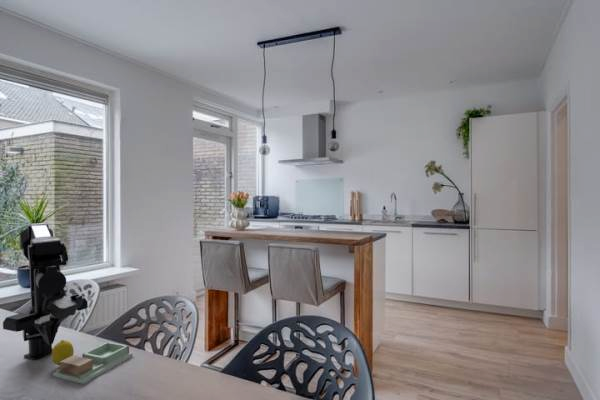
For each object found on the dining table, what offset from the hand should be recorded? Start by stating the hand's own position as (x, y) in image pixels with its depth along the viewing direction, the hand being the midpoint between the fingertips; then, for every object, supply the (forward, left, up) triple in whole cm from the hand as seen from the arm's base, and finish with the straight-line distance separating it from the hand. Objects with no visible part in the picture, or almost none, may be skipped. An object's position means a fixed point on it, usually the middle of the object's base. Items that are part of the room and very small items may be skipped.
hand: (50, 344), depth 95 cm
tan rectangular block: (0, +7, -11) cm, 13 cm away
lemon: (-9, +9, -12) cm, 18 cm away
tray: (0, +13, -12) cm, 18 cm away
